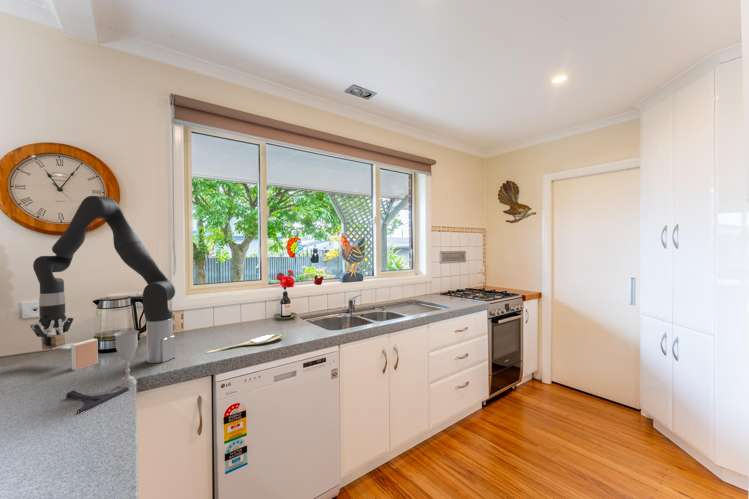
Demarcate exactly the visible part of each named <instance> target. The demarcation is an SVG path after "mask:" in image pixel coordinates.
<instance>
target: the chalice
mask: <svg viewBox="0 0 749 499" xmlns="http://www.w3.org/2000/svg"><path fill="white" fill-rule="evenodd" d="M139 333H140V331H139V330H137V329H134V330H124V331H119V332H116V333H114V334H113V336H114V337H115V348H116V352H117V354H118V355H119V357H120V358H121V360H123V361H125V364H124V365H123V366H124V367H125V369H124V372H125V376H124V377H123V378H122V379H120V382H119V384H118V388H126V387H128V388H129V387H131V386H134V385H136V384H137V383H138V382H137V380H136V378H135V376H134V375H130V371H131V369H130V366H131V364H130V360H131V359H132V358H133V356H134V354H135V353H136V351H137V348H138V346H139V345H138V341H139V340H138V334H139Z"/></svg>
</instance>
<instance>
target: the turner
mask: <svg viewBox="0 0 749 499" xmlns="http://www.w3.org/2000/svg"><path fill="white" fill-rule="evenodd" d="M50 337H51V346H45V345H44V338H43V337H40V340H41V348H42V350H53V351H54V350H55V351H56V350H57V351H58V350H69V349H71V345H72V344H76V343H77V342H76V343H73V342H71V343H66V339H65V334H64V333H63V334H62V335H56V334H51V336H50Z"/></svg>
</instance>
